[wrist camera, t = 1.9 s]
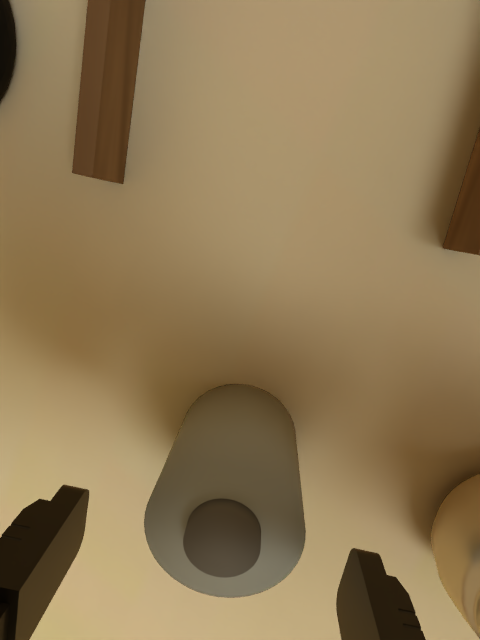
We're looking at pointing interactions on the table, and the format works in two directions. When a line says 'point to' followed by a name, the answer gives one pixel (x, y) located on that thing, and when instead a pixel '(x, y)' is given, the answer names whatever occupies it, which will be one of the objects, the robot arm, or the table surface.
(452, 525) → the plastic bottle
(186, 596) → the table surface
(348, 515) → the table surface
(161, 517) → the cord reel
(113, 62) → the slot rack
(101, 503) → the table surface
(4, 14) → the webcam
